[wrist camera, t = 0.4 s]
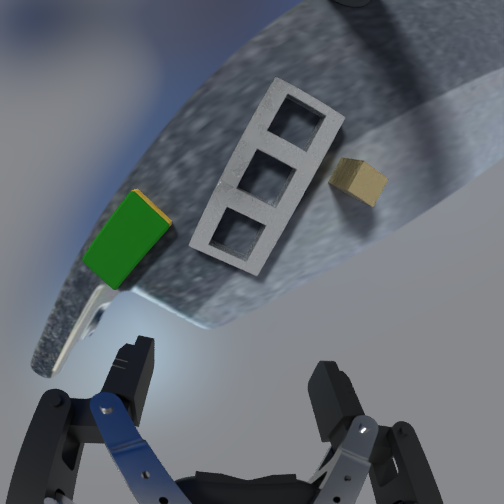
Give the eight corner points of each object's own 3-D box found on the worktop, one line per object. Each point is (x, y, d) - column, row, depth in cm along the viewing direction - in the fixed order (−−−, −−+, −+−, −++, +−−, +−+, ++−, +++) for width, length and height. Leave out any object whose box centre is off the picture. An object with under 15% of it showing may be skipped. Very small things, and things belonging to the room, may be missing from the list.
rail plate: (272, 81, 30) (275, 76, 28) (338, 119, 33) (345, 117, 30) (191, 239, 37) (188, 245, 35) (255, 268, 40) (257, 276, 37)
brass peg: (341, 157, 35) (364, 160, 28) (363, 172, 35) (388, 178, 29) (327, 182, 36) (348, 190, 29) (350, 196, 37) (373, 207, 30)
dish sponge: (87, 254, 37) (80, 260, 35) (137, 186, 35) (131, 189, 32) (120, 284, 40) (114, 291, 37) (174, 221, 37) (170, 226, 34)
